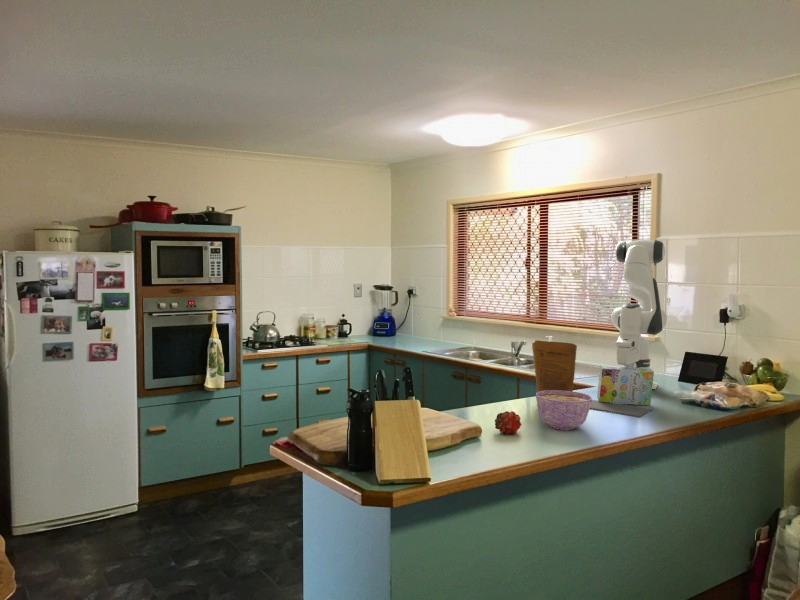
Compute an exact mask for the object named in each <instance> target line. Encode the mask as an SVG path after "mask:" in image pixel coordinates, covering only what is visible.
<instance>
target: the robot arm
mask: <svg viewBox="0 0 800 600" xmlns="http://www.w3.org/2000/svg"><path fill="white" fill-rule="evenodd" d="M614 249H615V250H614V254H615V257H616V260H617V261H618V262H619V263H623V279H624V281H625V282H626V283H627V293H628V295H629V297H630V298H632V299H634V300H636V301H638V303H639V304H638V303H634V302H633V303H632V302H631V303H624V304H622V305H621V306H620V307H615V308H613V310H612V312H611V317H610V320H611V324H612V325H613V326H614V328H616V329H617V330H618V331H619V332H618V339H617V340H616V342H615V346H616V363H617V365H621V366H622V367H636V368H651V367H650V366H651V358H650V343H649V341H648V340H647V339H646V338H644V337H643V336H642V334H647V335H652V336H656V335H658V334H659V333H661V332H662V331H663V329H664V328H665V326H666V324H667V322H668V315H667V314H666V312H665V310H664V309H662V308H661V301H660V300H661V299H660V294H659V293H660V292H659V288H658V283H657V280H656V278H654V277H653V276H654V274H653V272H654V271H653V266H656V265H657V264H659V263H661V262H662V261H663V259H664V258H665V256H666V247H665V245H664V243H663V241H660V240H658V239H657V240H653V239H652V240H650V239H637V240H636V239H634V240H622V241H619V242H618V243H617V245H616V247H615V248H614ZM657 388H658V383H657V382H655V381H653V385H652V389H655V390H656V389H657Z"/></svg>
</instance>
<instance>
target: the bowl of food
mask: <svg viewBox="0 0 800 600" xmlns="http://www.w3.org/2000/svg"><path fill="white" fill-rule="evenodd" d="M535 397H536V406H537V405H538V406H537V408H538V409H537V410H538V414H539V416H540V419H541V420H542V421H543V422H544V423H545V424H547V425H548V426H550V427H551V428H552V427H553V428H552V429H555V430H559V429H560V431H561V430H563V431H571V429H572V430H574V429H575V428H578V427H579V426H582V425H583V424H584V423H585V422H586V420H587V418H588V414H589V412H590V410H591V409H590V405H591V402H592V400H593V396H591V395H589V394H587V393H583V392H578V391H573V392H572V391H562V390H546V391H539V392H537V391H536V393H535Z"/></svg>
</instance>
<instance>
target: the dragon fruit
mask: <svg viewBox="0 0 800 600" xmlns="http://www.w3.org/2000/svg"><path fill="white" fill-rule="evenodd" d="M522 424H523V423H521V416H520V415H519V414H516V412H515V411H504V412H500V413H497V414H496V418H495V419H494V426H495V429H496V430H498V431H499V432H501V434H503V435H507V434H510V435H515V434H517V432H518V430H519V429H521V426H522Z"/></svg>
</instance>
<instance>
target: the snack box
mask: <svg viewBox="0 0 800 600" xmlns="http://www.w3.org/2000/svg"><path fill="white" fill-rule="evenodd" d="M654 374H655V371H654V370H652V368H651V367H650V368H636V367H623V366H616V365H615V366H614V365H599V374H598V385H597V395H596V396H597V397H596V398H597V401H599V402H610V403H617V404H623V405H640V406H651V402H652V396H653V395H652V393H653V390H652V385H653V382H654Z"/></svg>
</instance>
